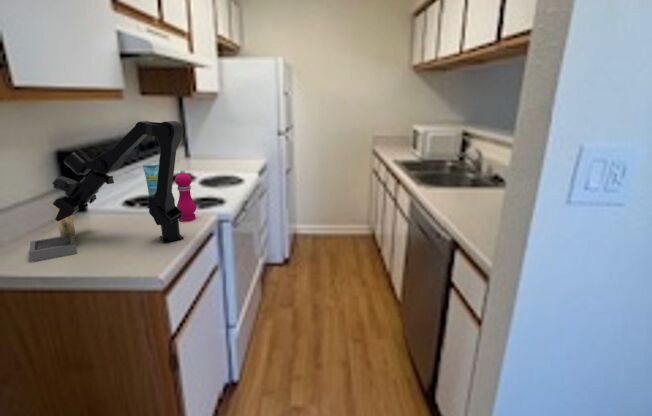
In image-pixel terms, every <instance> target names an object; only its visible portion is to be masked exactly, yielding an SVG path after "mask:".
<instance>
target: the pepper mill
mask: <svg viewBox="0 0 652 416" xmlns="http://www.w3.org/2000/svg"><path fill="white" fill-rule="evenodd" d="M179 172H180V173H179V174H177V175H176V176H175V178H174V182H175V184H176V185H177V187H176V188H177V189H176V190H177V191H178V194H179V195H178V202H177V203H176V207H177V208H178V209H179V210H180V211H182V212H183V214H182V218H180V219H178V220H179V222H183V221H186V222H192V221H195V220H196V219H197V218H196V214H195V212H196V210H197V206H196V204H195V202H194V200H193V198H192V195H191V194H192V193H191V189H192V186H191V184H192V180H193V179H192V177H191V175H190V174H188V173H186V171H185V169H181V170H180V171H179Z"/></svg>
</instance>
